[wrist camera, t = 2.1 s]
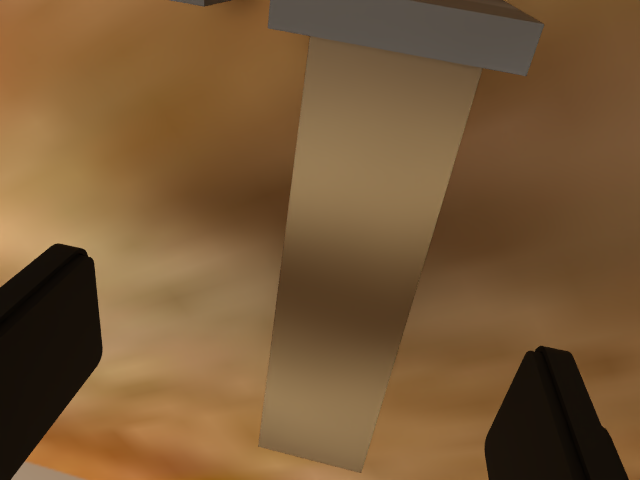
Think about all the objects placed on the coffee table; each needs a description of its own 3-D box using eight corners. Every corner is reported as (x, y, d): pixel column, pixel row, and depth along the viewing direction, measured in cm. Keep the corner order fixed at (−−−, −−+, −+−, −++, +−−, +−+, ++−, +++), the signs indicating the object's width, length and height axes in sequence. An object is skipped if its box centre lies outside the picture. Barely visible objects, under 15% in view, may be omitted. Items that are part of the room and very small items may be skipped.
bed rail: (389, 373, 19) (378, 503, 14) (276, 346, 19) (230, 463, 15) (501, -1, 12) (544, 24, 8) (326, -31, 13) (272, -24, 8)
